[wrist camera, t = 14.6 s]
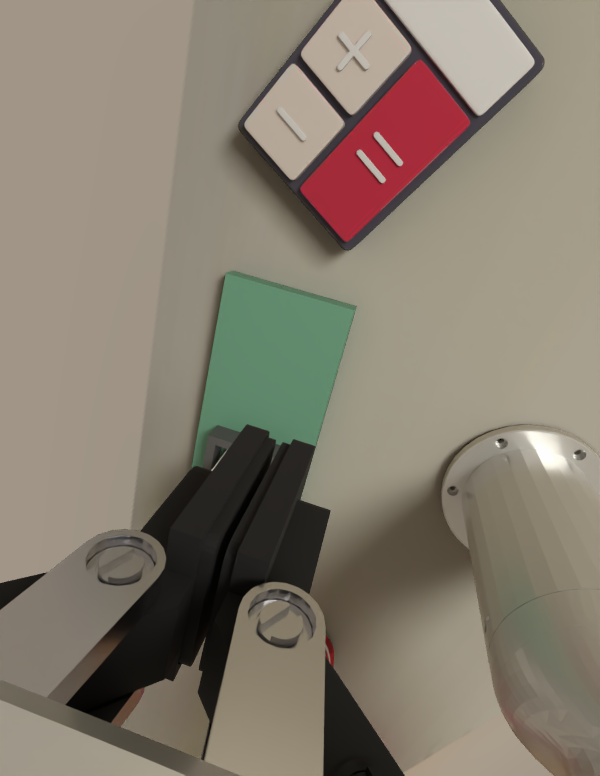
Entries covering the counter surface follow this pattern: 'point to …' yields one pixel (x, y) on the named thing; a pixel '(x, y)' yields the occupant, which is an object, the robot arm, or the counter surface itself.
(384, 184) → the calculator
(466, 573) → the counter surface
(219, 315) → the board
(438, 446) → the counter surface
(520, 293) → the counter surface
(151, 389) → the counter surface
